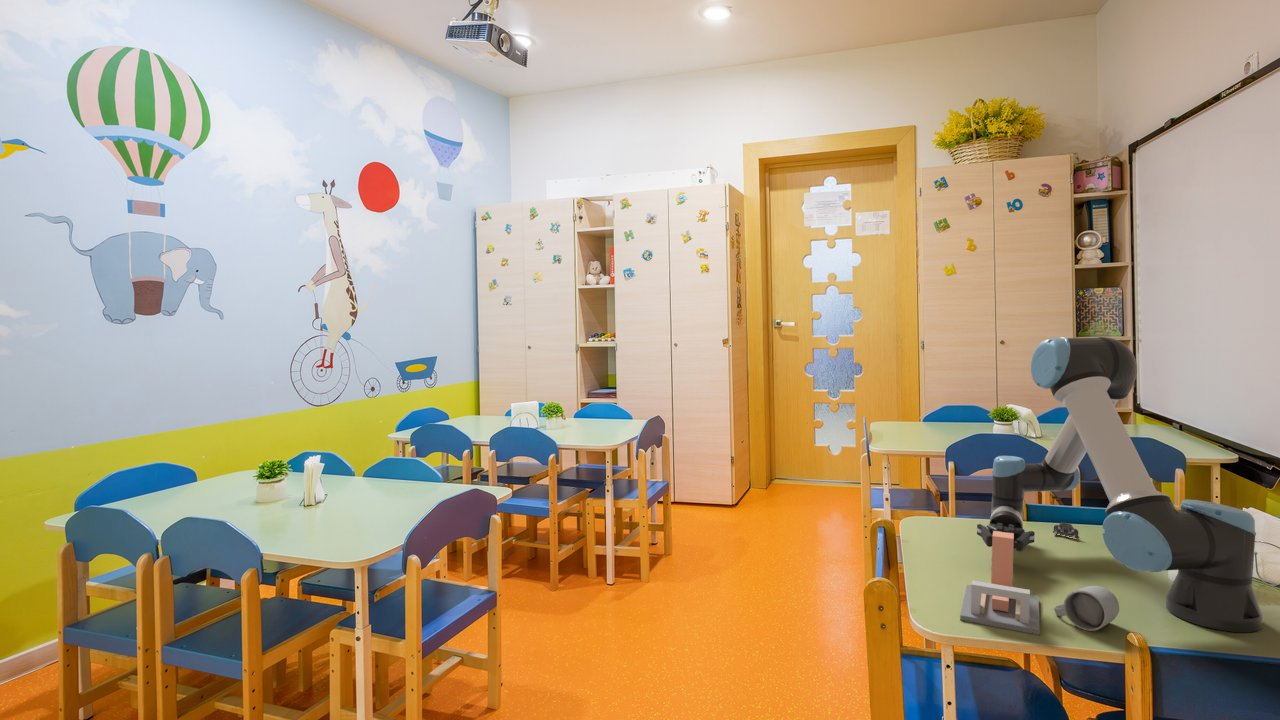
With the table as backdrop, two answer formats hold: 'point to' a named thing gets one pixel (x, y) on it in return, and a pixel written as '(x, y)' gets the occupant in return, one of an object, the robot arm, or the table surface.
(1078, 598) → the ceramic mug
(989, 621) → the mount
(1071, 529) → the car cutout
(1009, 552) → the clip bar
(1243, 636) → the table surface
